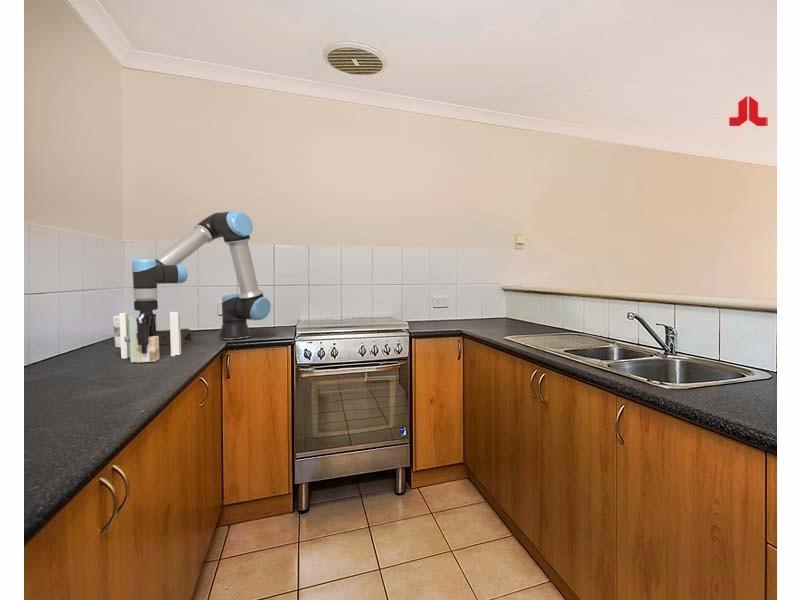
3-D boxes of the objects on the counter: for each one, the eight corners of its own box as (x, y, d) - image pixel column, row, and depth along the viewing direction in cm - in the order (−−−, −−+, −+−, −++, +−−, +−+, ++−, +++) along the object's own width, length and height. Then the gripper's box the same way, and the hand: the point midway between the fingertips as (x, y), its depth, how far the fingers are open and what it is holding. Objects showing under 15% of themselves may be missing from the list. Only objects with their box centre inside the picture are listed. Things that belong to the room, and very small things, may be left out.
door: (137, 361, 143) (135, 319, 142) (125, 363, 140) (124, 320, 139) (135, 355, 153) (133, 316, 152) (124, 356, 151) (122, 316, 150)
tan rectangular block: (159, 358, 148) (158, 336, 148) (155, 361, 144) (154, 338, 143) (142, 359, 147) (140, 336, 146) (137, 362, 142) (135, 338, 141)
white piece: (181, 354, 159) (179, 311, 157) (179, 355, 156) (177, 312, 155) (124, 356, 153) (122, 312, 152) (121, 358, 150) (119, 313, 149)
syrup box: (136, 345, 176) (134, 314, 175) (125, 348, 170) (124, 316, 169) (124, 345, 176) (123, 314, 175) (114, 348, 170) (112, 316, 169)
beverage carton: (192, 342, 186) (191, 329, 185) (145, 347, 174) (144, 332, 174) (190, 340, 192) (189, 327, 192) (144, 344, 181) (144, 330, 180)
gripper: (143, 298, 151) (145, 355, 153) (124, 301, 134) (127, 366, 135) (164, 297, 153) (166, 354, 155) (148, 301, 136) (151, 364, 138)
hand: (148, 359), depth 145 cm, fingers closed on tan rectangular block, 5 cm apart
